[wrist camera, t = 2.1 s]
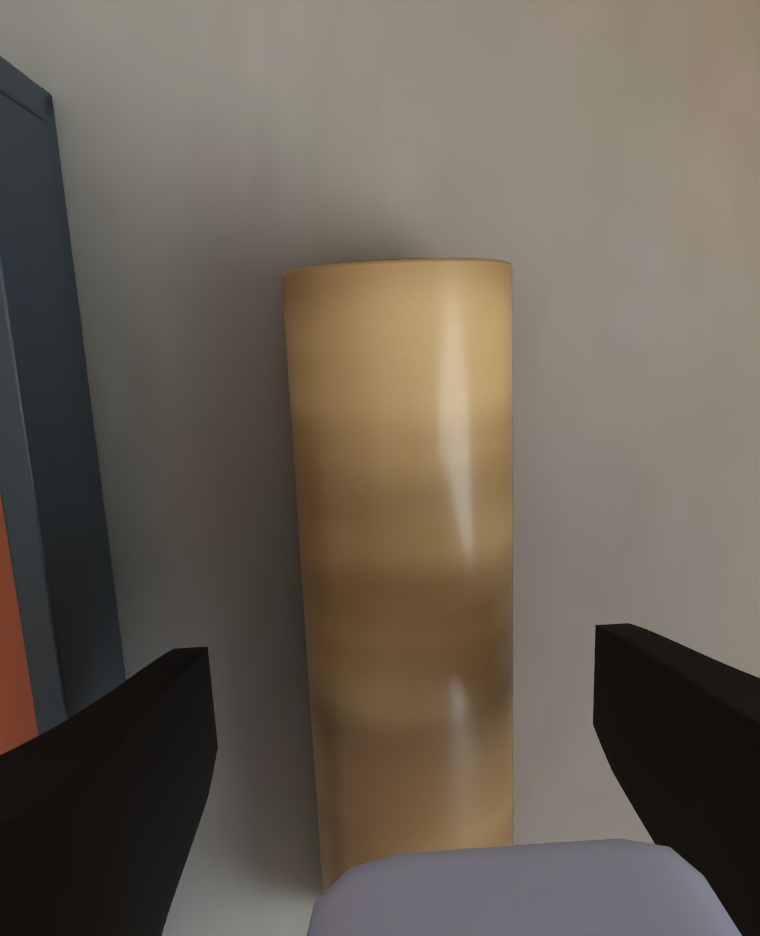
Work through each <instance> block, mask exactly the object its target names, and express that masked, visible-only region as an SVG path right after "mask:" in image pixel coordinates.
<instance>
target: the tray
mask: <svg viewBox="0 0 760 936" xmlns="http://www.w3.org/2000/svg"><path fill="white" fill-rule="evenodd" d="M125 681H126V679H125V671H124V664H123V656H122V648H121V640H120V632H119V624H118V616H117V608H116V600H115V592H114V585H113V577H112V569H111V561H110V553H109V545H108V537H107V529H106V521H105V513H104V505H103V498H102V490H101V482H100V474H99V466H98V458H97V450H96V442H95V434H94V426H93V419H92V411H91V403H90V395H89V387H88V379H87V371H86V363H85V355H84V347H83V340H82V332H81V324H80V316H79V308H78V300H77V292H76V284H75V276H74V268H73V261H72V253H71V245H70V237H69V229H68V221H67V213H66V205H65V197H64V189H63V182H62V174H61V166H60V158H59V150H58V142H57V134H56V126H55V118H54V110H53V102H52V96H51V94H49V93H48V92H47V91H46V90H44V89H43V88H42V87H40V86H39V85H37V84H36V83H35V82H33V81H32V80H31V79H30V78H28V77H27V76H26V75H24V74H23V73H22V72H20V71H19V70H18V69H17V68H15V67H14V66H13V65H11V64H10V63H9V62H7V61H6V60H5V59H4V58H2V57H1V56H0V755H1V754H3V753H5V752H8V751H10V750H12V749H14V748H16V747H18V746H19V745H21V744H23V743H25V742H27V741H29V740H31V739H33V738H35V737H37V736H39V735H41V734H43V733H44V732H46V731H48V730H50V729H52V728H53V727H55V726H57V725H59V724H60V723H62V722H64V721H65V720H67V719H68V718H70V717H72V716H73V715H75V714H76V713H78V712H79V711H81V710H83V709H84V708H86V707H87V706H89V705H91V704H92V703H94V702H95V701H97V700H98V699H100V698H102V697H103V696H105V695H106V694H108V693H109V692H111V691H112V690H113V689H115V688H116V687H118V686H119V685H121V684H122V683H123V682H125Z"/></svg>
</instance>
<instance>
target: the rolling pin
mask: <svg viewBox="0 0 760 936" xmlns="http://www.w3.org/2000/svg"><path fill="white" fill-rule="evenodd" d="M281 278H282V293H283V308H284V323H285V338H286V353H287V367H288V382H289V397H290V412H291V427H292V442H293V456H294V471H295V486H296V501H297V516H298V530H299V545H300V560H301V575H302V590H303V605H304V619H305V634H306V649H307V664H308V679H309V693H310V708H311V723H312V738H313V753H314V768H315V782H316V797H317V812H318V827H319V842H320V856H321V871H322V886H323V894H324V893H325V892H326V891H327V890H328V889H329V888H330V887H331V886H332V885H333V884H334V883H335V882H336V881H337V880H338V879H339V878H340V877H341V876H342V875H343V874H344V873H345V872H346V871H347V870H348V869H349V868H352V867H355V866H359V865H362V864H365V863H369V862H372V861H375V860H379V859H382V858H385V857H389V856H392V855H395V854H399V853H408V852H424V851H439V850H454V849H469V848H485V847H500V846H513V477H512V265H511V263H509V262H506V261H502V260H494V259H478V258H419V259H393V260H374V261H359V262H346V263H335V264H325V265H317V266H309V267H303V268H297V269H293V270H289V271H287V272H285V273H283V274H282V277H281Z"/></svg>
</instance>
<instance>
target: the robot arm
mask: <svg viewBox="0 0 760 936" xmlns="http://www.w3.org/2000/svg"><path fill="white" fill-rule="evenodd" d="M593 725H594V728H595V731H596V733H597V736H598V738H599V741H600V743H601V746H602V748H603V751H604V753H605V755H606V758H607V760H608V762H609V765H610V767H611V769H612V771H613V773H614V775H615V777H616V778H617V780H618V782H619V784H620V785H621V787H622V789H623V791H624V792H625V794H626V796H627V797H628V799H629V801H630V803H631V804H632V806H633V808H634V809H635V811H636V813H637V814H638V816H639V818H640V819H641V821H642V823H643V824H644V826H645V828H646V829H647V831H648V833H649V834H650V836H651V838H652V839H653V841H654V843H655V844H656V845H655V844H650V843H644V842H638V841H632V840H626V839H606V840H591V841H576V842H561V843H545V844H530V845H515V846H500V847H485V848H469V849H454V850H439V851H424V852H408V853H399V854H395V855H392V856H389V857H385V858H382V859H379V860H375V861H372V862H369V863H365V864H362V865H359V866H355V867H352V868H349V869H348V870H347V871H346V872H345V873H344V874H343V875H342V876H341V877H340V878H339V879H338V880H337V881H336V882H335V883H334V884H333V885H332V886H331V887H330V888H329V889H328V890H327V891H326V892H325V893H324V894H323V895H322V896H321V897H320V898H319V899H318V900H317V901H316V902H315V903H314V908H313V912H312V916H311V920H310V924H309V928H308V933H307V936H760V678H758V677H755V676H753V675H750V674H748V673H745V672H743V671H740V670H738V669H735V668H733V667H731V666H728V665H726V664H723V663H721V662H719V661H717V660H714V659H712V658H710V657H707V656H705V655H703V654H701V653H699V652H696V651H694V650H692V649H690V648H687V647H685V646H683V645H681V644H679V643H676V642H674V641H672V640H670V639H668V638H665V637H663V636H661V635H659V634H656V633H654V632H651V631H649V630H647V629H644V628H641V627H638V626H636V625H632V624H628V623H627V624H609V625H596V632H595V670H594V708H593ZM217 748H218V745H217V735H216V725H215V715H214V706H213V696H212V686H211V676H210V666H209V656H208V647H197V648H179V649H173V650H171V651H169V652H167V653H166V654H164V655H162V656H161V657H159V658H158V659H156V660H155V661H153V662H152V663H151V664H149V665H148V666H146V667H145V668H143V669H142V670H141V671H139V672H138V673H136V674H135V675H133V676H132V677H131V678H129V679H128V680H126V681H125V682H123V683H122V684H121V685H119V686H118V687H116V688H115V689H113V690H112V691H111V692H109V693H108V694H106V695H105V696H103V697H102V698H100V699H98V700H97V701H95V702H94V703H92V704H91V705H89V706H87V707H86V708H84V709H83V710H81V711H79V712H78V713H76V714H75V715H73V716H72V717H70V718H68V719H67V720H65V721H64V722H62V723H60V724H59V725H57V726H55V727H53V728H52V729H50V730H48V731H46V732H44V733H43V734H41V735H39V736H37V737H35V738H33V739H31V740H29V741H27V742H25V743H23V744H21V745H19V746H18V747H16V748H14V749H12V750H10V751H8V752H5V753H3V754H1V755H0V936H161V935H162V932H163V928H164V925H165V922H166V918H167V915H168V912H169V909H170V906H171V903H172V900H173V897H174V894H175V891H176V889H177V886H178V883H179V880H180V877H181V874H182V871H183V868H184V865H185V863H186V860H187V857H188V854H189V851H190V848H191V845H192V842H193V840H194V837H195V834H196V831H197V828H198V825H199V822H200V819H201V816H202V813H203V810H204V807H205V804H206V801H207V798H208V794H209V789H210V784H211V780H212V775H213V770H214V764H215V759H216V753H217Z"/></svg>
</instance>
